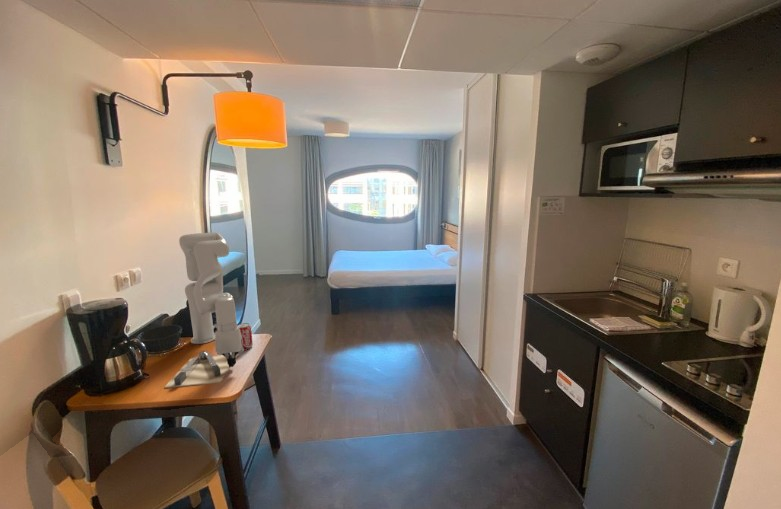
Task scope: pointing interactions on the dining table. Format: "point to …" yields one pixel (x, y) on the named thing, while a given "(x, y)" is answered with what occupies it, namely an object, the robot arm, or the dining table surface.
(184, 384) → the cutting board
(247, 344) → the soda can
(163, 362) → the dining table surface
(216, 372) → the tong arm
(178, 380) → the arm
